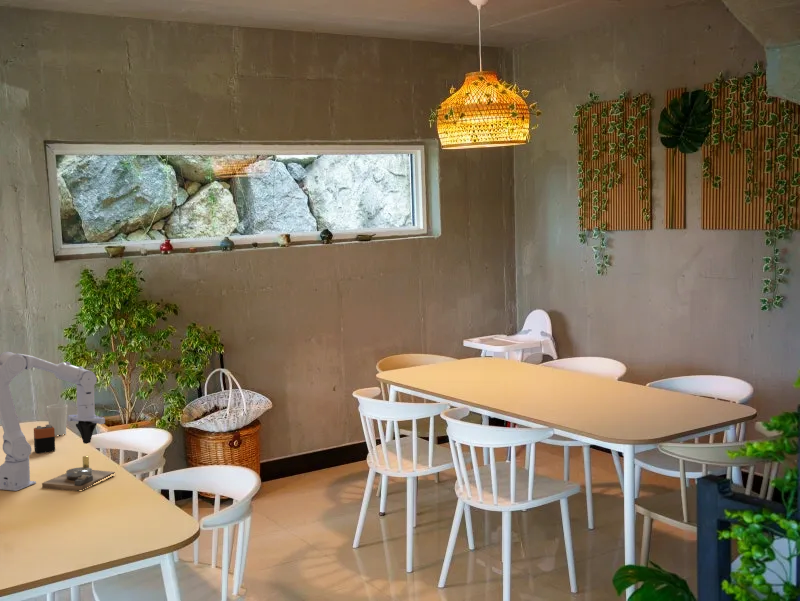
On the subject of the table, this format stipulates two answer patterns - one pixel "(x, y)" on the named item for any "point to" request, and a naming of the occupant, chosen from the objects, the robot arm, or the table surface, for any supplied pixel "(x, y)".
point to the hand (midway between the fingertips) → (86, 442)
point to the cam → (79, 470)
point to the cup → (57, 417)
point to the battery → (44, 439)
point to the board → (71, 483)
